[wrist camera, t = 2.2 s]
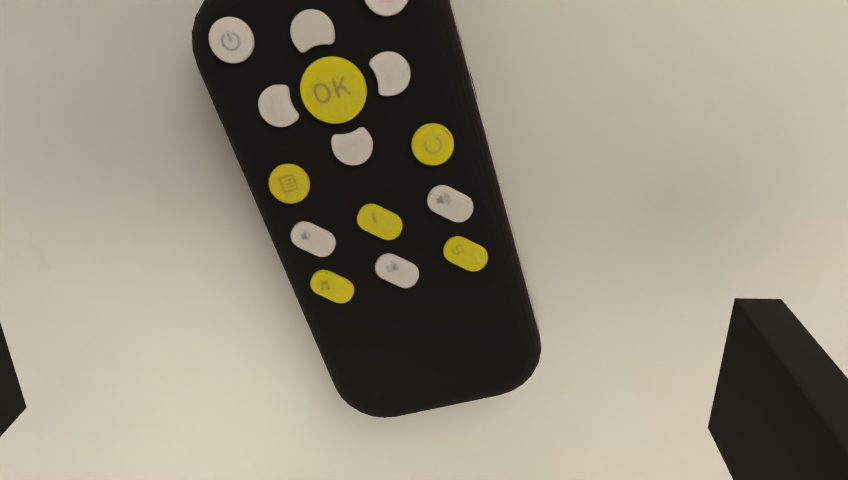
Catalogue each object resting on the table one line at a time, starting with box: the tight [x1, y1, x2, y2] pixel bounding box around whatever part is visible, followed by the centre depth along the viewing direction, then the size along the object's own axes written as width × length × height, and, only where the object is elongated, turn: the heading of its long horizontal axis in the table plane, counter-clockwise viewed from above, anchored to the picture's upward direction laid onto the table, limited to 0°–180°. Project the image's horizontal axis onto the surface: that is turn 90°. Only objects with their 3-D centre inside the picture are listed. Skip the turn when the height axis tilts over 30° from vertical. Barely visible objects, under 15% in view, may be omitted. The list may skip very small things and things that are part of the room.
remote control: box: [192, 0, 541, 418], centre depth 18 cm, size 6×13×2 cm, turn 17°
